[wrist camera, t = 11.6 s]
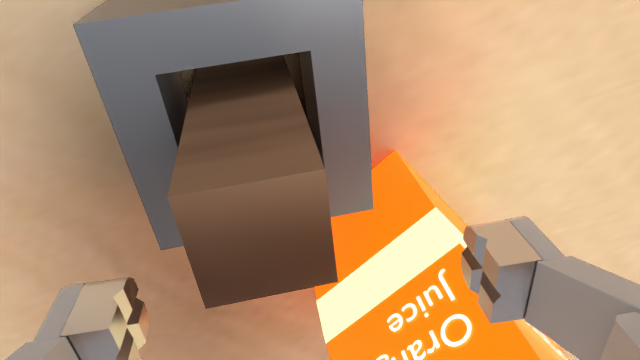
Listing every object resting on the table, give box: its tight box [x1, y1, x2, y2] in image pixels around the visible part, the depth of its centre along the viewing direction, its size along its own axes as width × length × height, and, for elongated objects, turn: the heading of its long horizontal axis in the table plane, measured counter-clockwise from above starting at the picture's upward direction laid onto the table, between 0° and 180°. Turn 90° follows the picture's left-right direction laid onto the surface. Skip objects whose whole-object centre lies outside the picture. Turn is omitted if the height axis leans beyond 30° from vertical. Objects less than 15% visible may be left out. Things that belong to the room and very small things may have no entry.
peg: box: [167, 55, 338, 309], centre depth 17 cm, size 4×4×12 cm
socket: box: [73, 0, 374, 250], centre depth 20 cm, size 10×10×5 cm
